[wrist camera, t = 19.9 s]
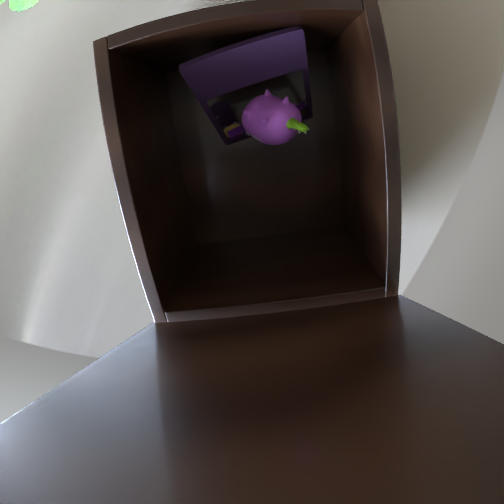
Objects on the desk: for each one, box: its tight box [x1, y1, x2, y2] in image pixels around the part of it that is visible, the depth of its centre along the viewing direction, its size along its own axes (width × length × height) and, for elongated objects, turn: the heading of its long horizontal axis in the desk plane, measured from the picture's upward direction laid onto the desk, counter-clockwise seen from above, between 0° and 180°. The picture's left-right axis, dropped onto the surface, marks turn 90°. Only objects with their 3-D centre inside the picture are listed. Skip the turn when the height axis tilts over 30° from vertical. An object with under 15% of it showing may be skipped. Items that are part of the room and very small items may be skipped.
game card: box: [179, 26, 313, 145], centre depth 18 cm, size 7×5×9 cm
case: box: [93, 0, 401, 323], centre depth 19 cm, size 16×14×11 cm
